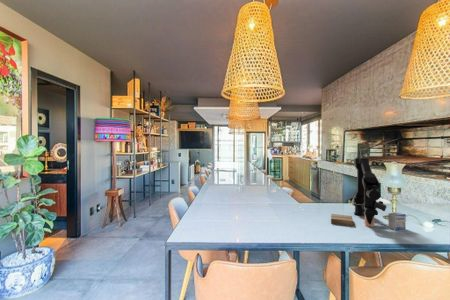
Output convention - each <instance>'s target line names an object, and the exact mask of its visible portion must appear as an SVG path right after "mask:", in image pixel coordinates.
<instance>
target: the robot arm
mask: <svg viewBox="0 0 450 300" xmlns="http://www.w3.org/2000/svg"><path fill="white" fill-rule="evenodd" d="M353 165H354V167H355V169H356V191H355V193H354V194H353V198H352V201H351V202H352V204H351V205H352V206H353V207H354V211H353V214H354V216H362V217H365V215H366V218H367V221H368V223H369V224H371V222H372V219H373V216H374V217H375V216H378V215H379V212H378V210H377V209H379V210H381V211H382V212H385V211H386V209H387V208H388V207H387V205H386V204H384V202H383V201H382V200H380V198H381V193H380V192H379V191H378V189H380V186H381V185H380V182H379V179H378V178H377V176H376V174H374V173H373V172H372V167H371V165H370V158H369V157H356V158H354V159H353Z"/></svg>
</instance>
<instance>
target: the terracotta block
mask: <svg viewBox="0 0 450 300" xmlns="http://www.w3.org/2000/svg"><path fill="white" fill-rule="evenodd" d="M364 225H365V227H369V226H370V227H371V228H375V216H373V219H372V222H371V224H369V223H368V221H367V218H366V215H365V216H364Z"/></svg>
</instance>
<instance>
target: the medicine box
mask: <svg viewBox="0 0 450 300" xmlns="http://www.w3.org/2000/svg"><path fill="white" fill-rule="evenodd" d="M406 216H407V215H406V213H402V212H390V213H388V217H387V218H388V219H387V221H388V229H392V230H394V231H398V230H399V231H400V230H405V229H406V228H407V227H406V225H407V223H406V220H407V219H406V218H407V217H406Z"/></svg>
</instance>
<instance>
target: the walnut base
mask: <svg viewBox="0 0 450 300" xmlns="http://www.w3.org/2000/svg"><path fill="white" fill-rule="evenodd" d="M330 224H333V225H340V226H349V227H354V219H353V216H352V215H344V214H336V213H331V215H330Z"/></svg>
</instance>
